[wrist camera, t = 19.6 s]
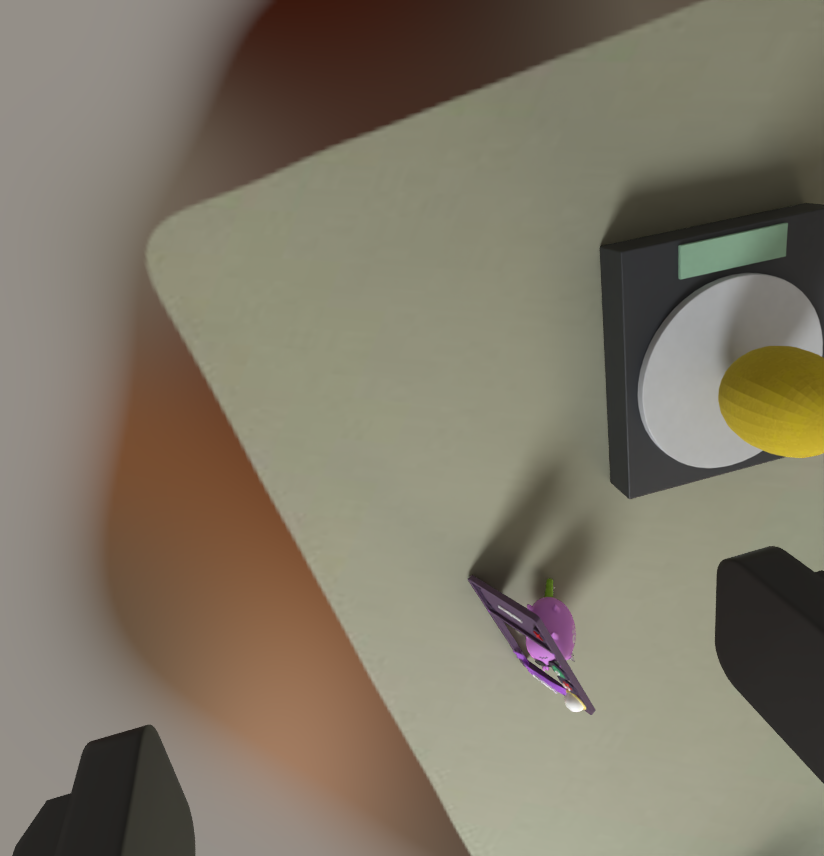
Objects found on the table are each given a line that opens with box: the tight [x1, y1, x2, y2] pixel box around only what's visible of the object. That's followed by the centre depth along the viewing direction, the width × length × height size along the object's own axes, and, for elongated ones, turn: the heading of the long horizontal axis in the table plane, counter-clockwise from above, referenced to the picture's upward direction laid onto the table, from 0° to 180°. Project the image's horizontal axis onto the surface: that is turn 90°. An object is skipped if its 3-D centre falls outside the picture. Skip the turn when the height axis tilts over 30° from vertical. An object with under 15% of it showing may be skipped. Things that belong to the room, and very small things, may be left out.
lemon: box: [718, 346, 824, 458], centre depth 35 cm, size 6×6×8 cm
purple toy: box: [468, 575, 595, 715], centre depth 43 cm, size 7×5×9 cm
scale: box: [600, 203, 824, 499], centre depth 40 cm, size 15×13×3 cm
